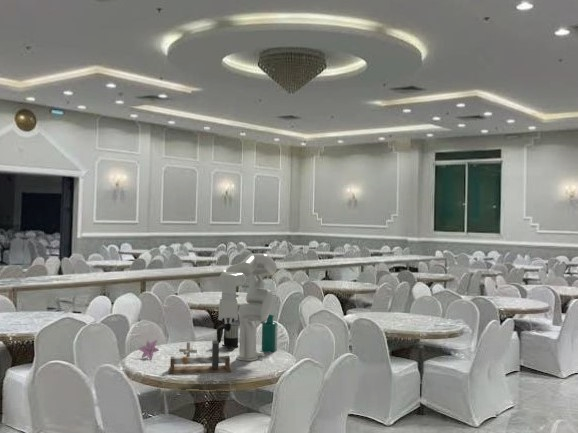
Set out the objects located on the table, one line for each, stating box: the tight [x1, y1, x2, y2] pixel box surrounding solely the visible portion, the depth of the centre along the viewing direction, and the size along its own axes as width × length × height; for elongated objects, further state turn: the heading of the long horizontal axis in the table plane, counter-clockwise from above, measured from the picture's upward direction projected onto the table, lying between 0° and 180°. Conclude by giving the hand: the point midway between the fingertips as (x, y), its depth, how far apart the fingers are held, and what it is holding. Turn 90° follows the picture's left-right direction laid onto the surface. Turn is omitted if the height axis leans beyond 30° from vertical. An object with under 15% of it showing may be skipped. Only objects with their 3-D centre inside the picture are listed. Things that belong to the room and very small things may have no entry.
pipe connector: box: [179, 341, 198, 357], centre depth 349 cm, size 10×10×10 cm
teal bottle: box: [261, 314, 278, 353], centre depth 377 cm, size 10×8×22 cm
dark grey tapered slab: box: [211, 340, 220, 369], centre depth 328 cm, size 3×8×14 cm, turn 10°
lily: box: [137, 339, 160, 360], centre depth 353 cm, size 12×12×10 cm
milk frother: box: [216, 321, 240, 351], centre depth 381 cm, size 14×16×15 cm
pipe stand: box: [168, 355, 232, 375], centre depth 326 cm, size 32×11×7 cm, turn 100°
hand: (227, 331), depth 328 cm, fingers closed
